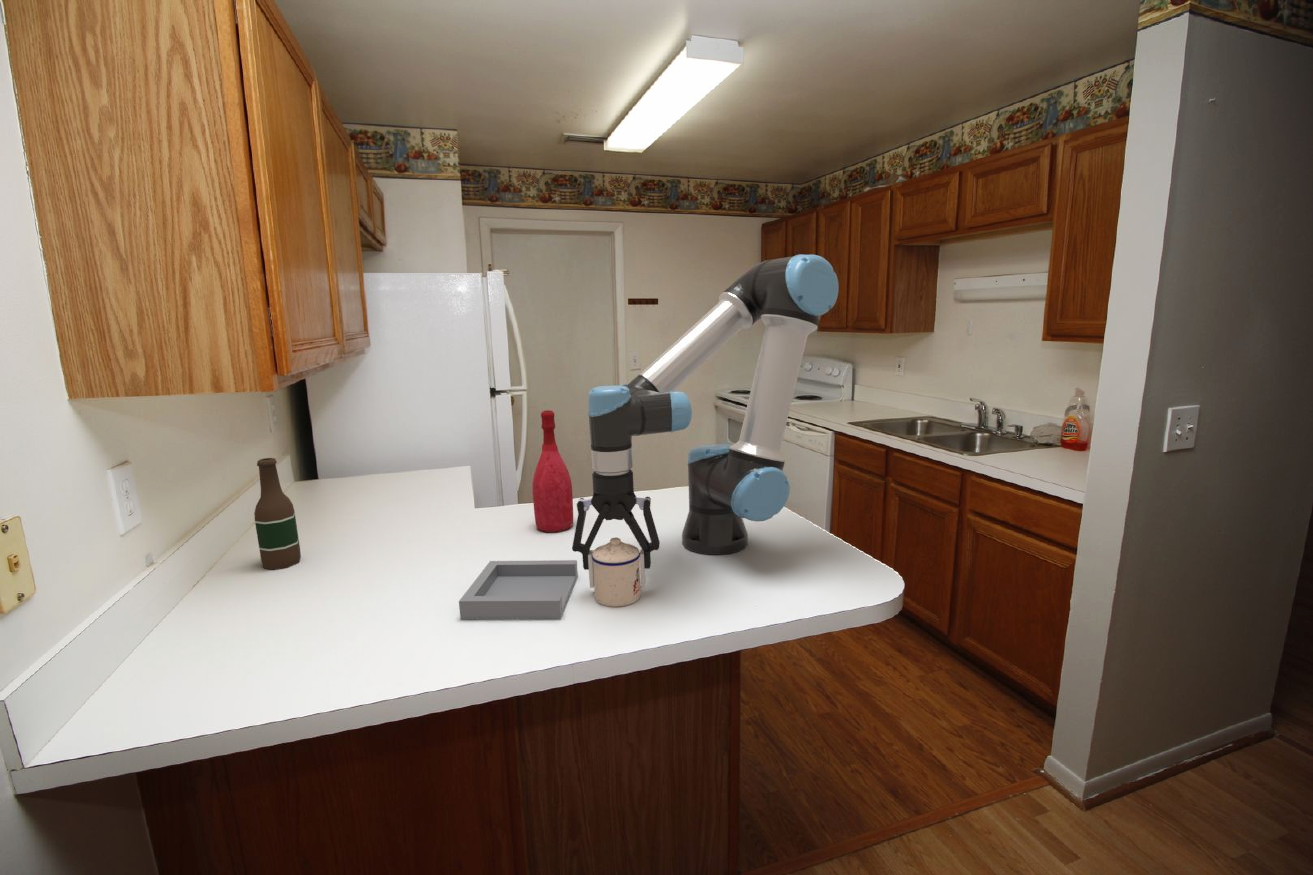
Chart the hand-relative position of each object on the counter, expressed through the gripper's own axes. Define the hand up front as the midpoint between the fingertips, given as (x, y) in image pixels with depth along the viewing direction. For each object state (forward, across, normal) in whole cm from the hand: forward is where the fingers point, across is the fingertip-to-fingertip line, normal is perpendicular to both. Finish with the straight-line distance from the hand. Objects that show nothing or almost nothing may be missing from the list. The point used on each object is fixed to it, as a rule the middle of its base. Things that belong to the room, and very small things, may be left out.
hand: (618, 584), depth 117 cm
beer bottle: (+2, +77, -16) cm, 79 cm away
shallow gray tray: (+2, +18, +1) cm, 18 cm away
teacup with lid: (+2, 0, 0) cm, 2 cm away
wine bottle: (+2, +20, -38) cm, 43 cm away
